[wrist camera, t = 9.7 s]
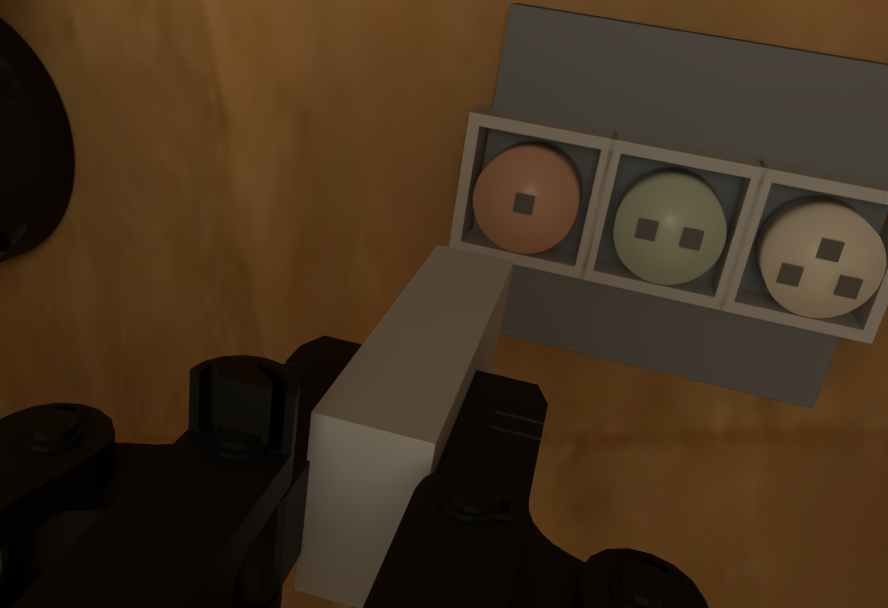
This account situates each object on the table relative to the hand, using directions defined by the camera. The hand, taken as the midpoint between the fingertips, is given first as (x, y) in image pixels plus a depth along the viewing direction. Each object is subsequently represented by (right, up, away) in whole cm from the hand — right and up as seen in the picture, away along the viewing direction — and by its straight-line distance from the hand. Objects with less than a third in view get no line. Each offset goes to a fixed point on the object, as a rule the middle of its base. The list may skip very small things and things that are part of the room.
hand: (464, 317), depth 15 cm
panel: (+10, +5, +21) cm, 24 cm away
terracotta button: (+4, +5, +20) cm, 21 cm away
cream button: (+15, +3, +18) cm, 23 cm away
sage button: (+9, +4, +19) cm, 21 cm away
